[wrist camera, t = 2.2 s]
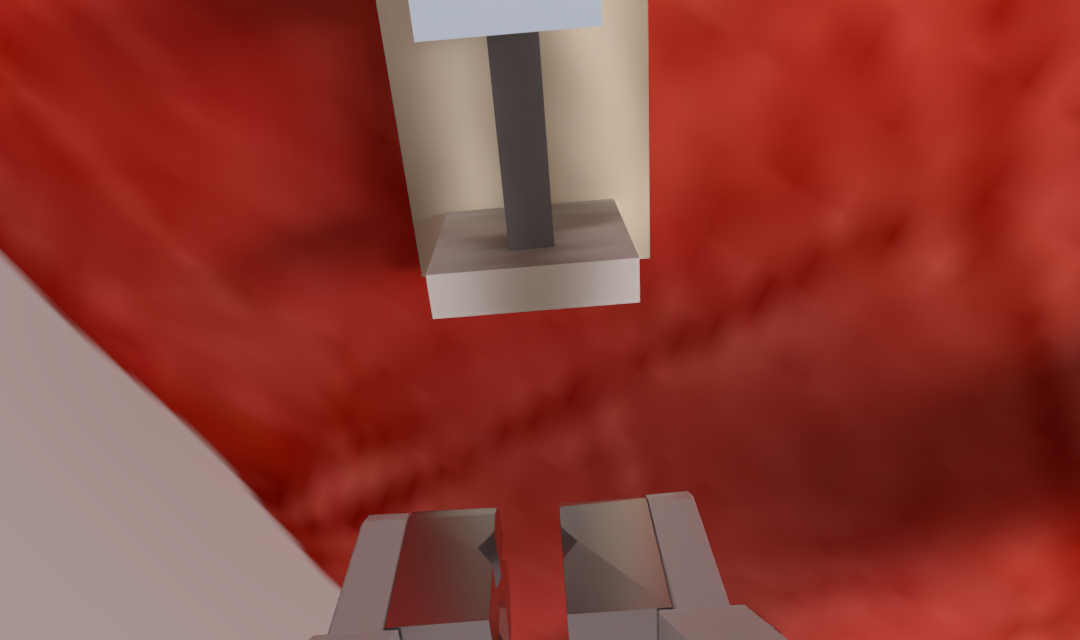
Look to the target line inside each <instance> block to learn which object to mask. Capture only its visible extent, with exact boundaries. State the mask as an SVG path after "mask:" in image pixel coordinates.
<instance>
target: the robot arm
mask: <svg viewBox="0 0 1080 640" xmlns="http://www.w3.org/2000/svg"><path fill="white" fill-rule="evenodd" d="M559 504H560V522H561V537H562V550H563V566H564V579H565V592H566V606H567V619H568V632H569V640H788V639H786V638H785V637H784V636H783V635H782V634H780V633H779V632H778V631H777V630H775V629H774V628H773V627H772V626H770V625H769V624H768V623H767V622H766V621H764V620H763V619H762V618H761V617H759V616H758V615H757V614H756V613H755V612H753V611H752V610H751V609H750V608H748V607H747V606H746V605H730V603H729V600H728V597H727V594H726V591H725V588H724V585H723V582H722V579H721V576H720V574H719V571H718V568H717V565H716V562H715V559H714V556H713V553H712V550H711V547H710V544H709V541H708V538H707V535H706V532H705V529H704V526H703V524H702V521H701V518H700V515H699V512H698V509H697V506H696V503H695V500H694V497H693V496H692V495H691V494H690V493H689V492H688V491H682V492H672V493H661V494H651V495H645V497H644V496H637V497H625V498H613V499H601V500H589V501H577V502H565V503H559ZM502 535H503V534H502V527H501V521H500V515H499V511H498V509H497V508H481V509H461V510H442V511H423V512H412V513H400V514H381V515H369V516H368V517H367V519H366V520H365V521H364V522H363V524H362V525H361V528H360V531H359V534H358V538H357V541H356V544H355V547H354V551H353V554H352V557H351V560H350V564H349V567H348V570H347V573H346V577H345V580H344V583H343V586H342V590H341V593H340V596H339V599H338V603H337V606H336V609H335V612H334V615H333V619H332V622H331V625H330V628H329V632H328V635H317V636H313V637H312V638H311V639H310V640H511V612H510V591H509V580H508V571H507V563H506V562H505V561H504V560H503V559H502Z"/></svg>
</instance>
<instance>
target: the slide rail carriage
mask: <svg viewBox="0 0 1080 640" xmlns="http://www.w3.org/2000/svg"><path fill="white" fill-rule="evenodd" d="M408 3H409V9H410V16H411V23H412V29H413V36H414V42H424V41H435V40H447V39H458V38H470V37H481V36H493V35H504V34H516V33H527V32H539V31H550V30H562V29H573V28H585V27H596V26H602V3H601V0H408Z"/></svg>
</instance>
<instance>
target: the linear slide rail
mask: <svg viewBox="0 0 1080 640" xmlns="http://www.w3.org/2000/svg"><path fill="white" fill-rule="evenodd" d="M601 3H602V26H596V27H585V28H573V29H562V30H550V31H539V32H527V33H516V34H504V35H493V36H481V37H470V38H458V39H447V40H435V41H424V42H414V36H413V29H412V23H411V16H410V9H409V3H408V0H376V5H377V11H378V17H379V23H380V29H381V35H382V41H383V47H384V53H385V59H386V64H387V70H388V76H389V82H390V88H391V94H392V100H393V106H394V112H395V118H396V124H397V130H398V136H399V142H400V148H401V154H402V160H403V166H404V172H405V178H406V184H407V190H408V196H409V202H410V208H411V214H412V220H413V226H414V232H415V238H416V244H417V250H418V256H419V262H420V267H421V273H422V277H426V281H427V287H428V293H429V299H430V305H431V311H432V317H433V319H440V318H453V317H465V316H478V315H490V314H502V313H515V312H527V311H539V310H552V309H564V308H577V307H589V306H601V305H614V304H626V303H639V302H640V264H639V259H647V258H650V200H649V77H648V0H601Z"/></svg>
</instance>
